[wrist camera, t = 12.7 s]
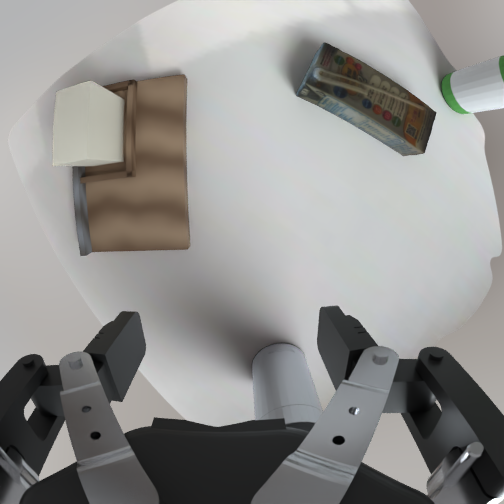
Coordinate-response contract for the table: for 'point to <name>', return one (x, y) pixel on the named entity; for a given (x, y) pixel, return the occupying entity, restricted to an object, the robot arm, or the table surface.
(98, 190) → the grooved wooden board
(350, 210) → the table surface
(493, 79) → the wine bottle
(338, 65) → the beverage carton
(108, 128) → the tea box
